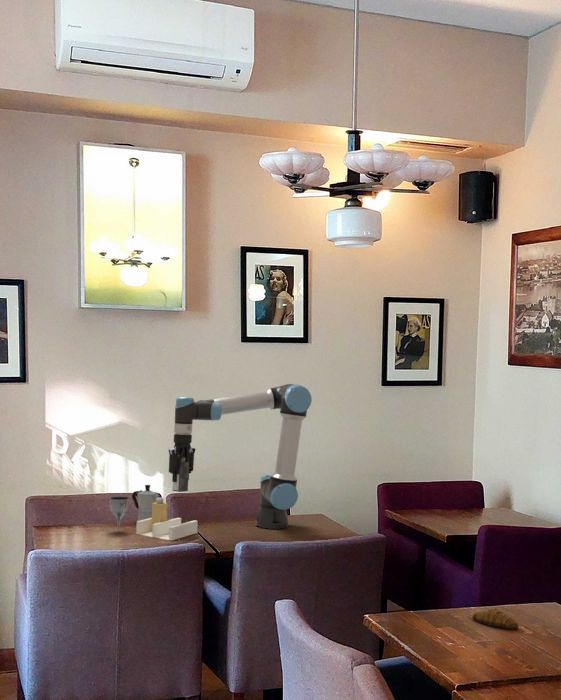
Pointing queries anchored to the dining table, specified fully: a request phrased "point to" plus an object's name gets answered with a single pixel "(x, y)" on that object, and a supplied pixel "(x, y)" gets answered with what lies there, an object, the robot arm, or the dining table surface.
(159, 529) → the comb rack
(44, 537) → the dining table surface
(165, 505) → the ochre peg
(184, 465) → the dark grey bottle
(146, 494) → the coffee maker
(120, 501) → the wine glass
